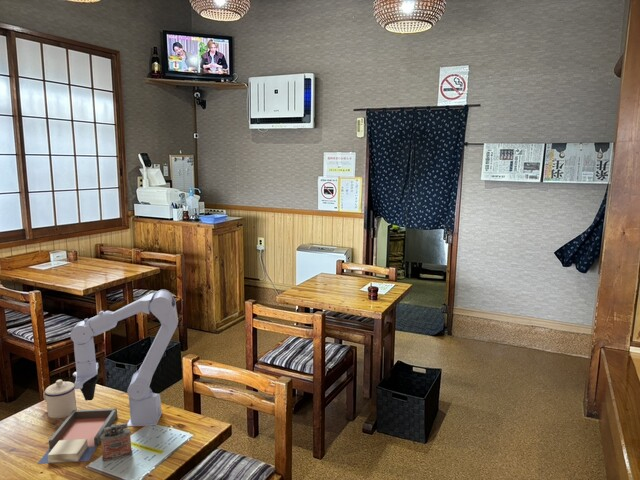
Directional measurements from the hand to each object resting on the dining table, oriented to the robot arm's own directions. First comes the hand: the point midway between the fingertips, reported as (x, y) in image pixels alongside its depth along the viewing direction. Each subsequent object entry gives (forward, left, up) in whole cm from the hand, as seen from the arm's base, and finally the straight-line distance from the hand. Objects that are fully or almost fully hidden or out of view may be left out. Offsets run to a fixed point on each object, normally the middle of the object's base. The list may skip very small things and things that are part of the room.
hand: (89, 399), depth 152 cm
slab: (+1, +15, -9) cm, 18 cm away
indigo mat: (+1, +16, -9) cm, 18 cm away
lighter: (-14, +17, -10) cm, 24 cm away
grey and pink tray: (+1, +3, -9) cm, 10 cm away
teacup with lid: (+15, -10, -10) cm, 20 cm away
